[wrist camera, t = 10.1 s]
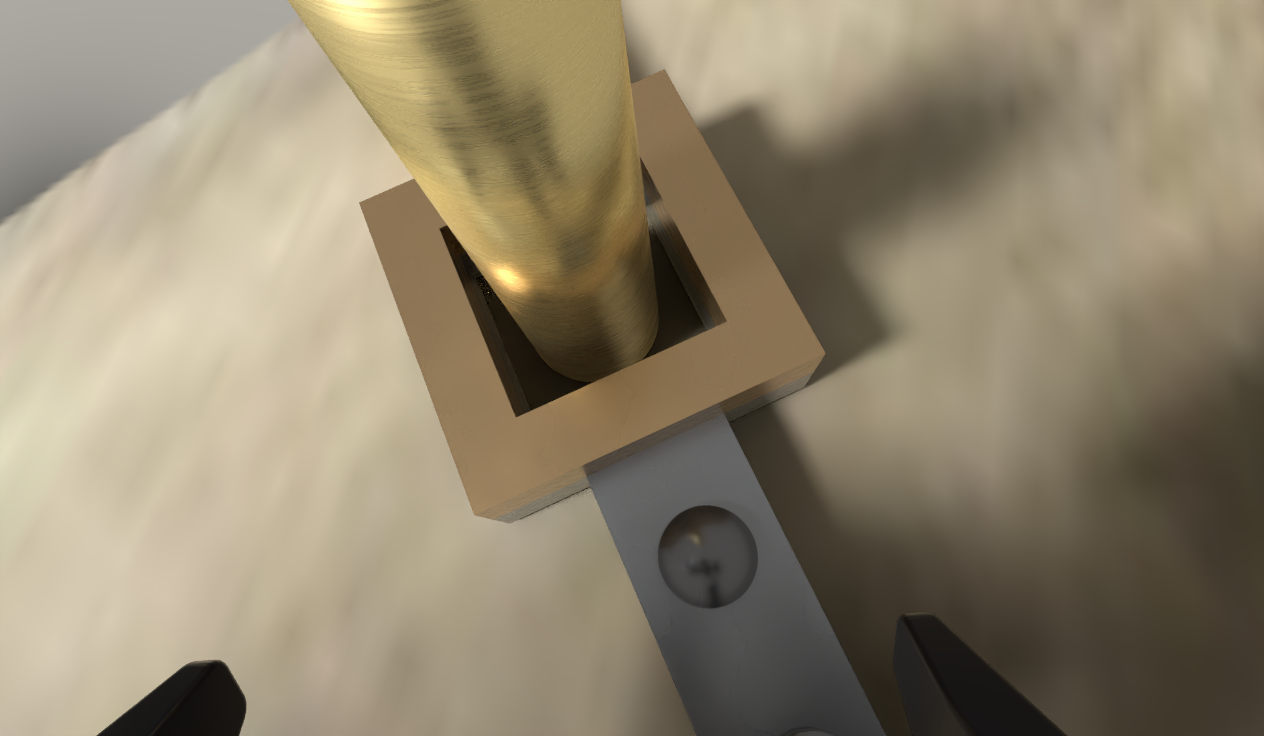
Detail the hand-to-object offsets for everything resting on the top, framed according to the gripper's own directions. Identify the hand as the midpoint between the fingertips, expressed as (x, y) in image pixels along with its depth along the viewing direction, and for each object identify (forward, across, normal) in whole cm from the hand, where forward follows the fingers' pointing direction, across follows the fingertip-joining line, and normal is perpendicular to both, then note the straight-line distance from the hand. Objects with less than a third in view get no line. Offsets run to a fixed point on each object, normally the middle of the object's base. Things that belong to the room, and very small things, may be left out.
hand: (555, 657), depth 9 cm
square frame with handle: (+10, -1, +1) cm, 10 cm away
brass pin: (+11, 0, 0) cm, 11 cm away
